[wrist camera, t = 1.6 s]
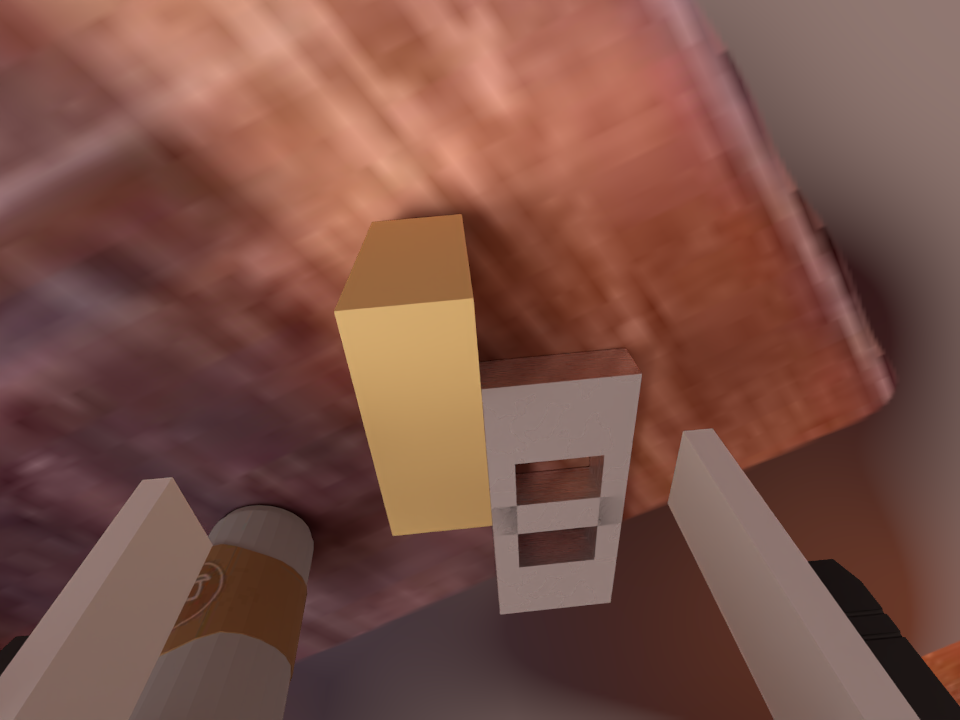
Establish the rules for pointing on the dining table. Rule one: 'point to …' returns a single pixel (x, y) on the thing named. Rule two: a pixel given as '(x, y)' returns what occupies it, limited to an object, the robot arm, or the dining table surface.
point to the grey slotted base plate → (558, 473)
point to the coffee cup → (236, 624)
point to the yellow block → (418, 372)
